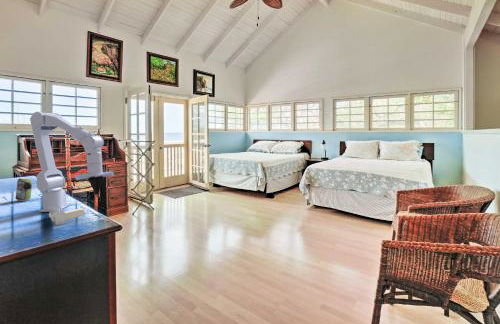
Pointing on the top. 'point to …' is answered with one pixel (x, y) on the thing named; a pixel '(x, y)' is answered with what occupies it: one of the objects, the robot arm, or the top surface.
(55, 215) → the housing
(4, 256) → the top surface
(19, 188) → the beverage can
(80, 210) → the rod
